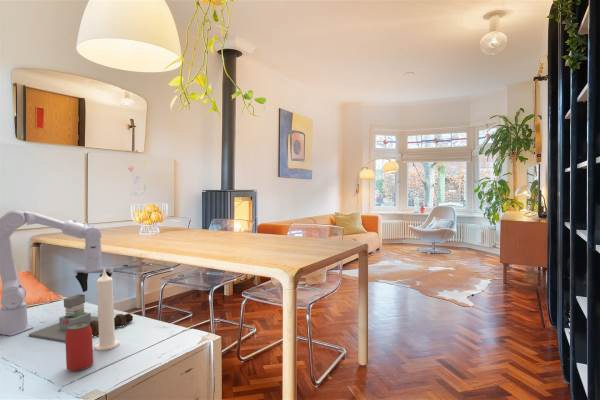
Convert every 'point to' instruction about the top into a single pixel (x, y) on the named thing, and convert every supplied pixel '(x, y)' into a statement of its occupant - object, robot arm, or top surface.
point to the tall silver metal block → (74, 306)
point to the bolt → (118, 321)
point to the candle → (106, 314)
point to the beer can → (79, 346)
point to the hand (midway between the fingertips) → (94, 290)
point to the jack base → (61, 327)
